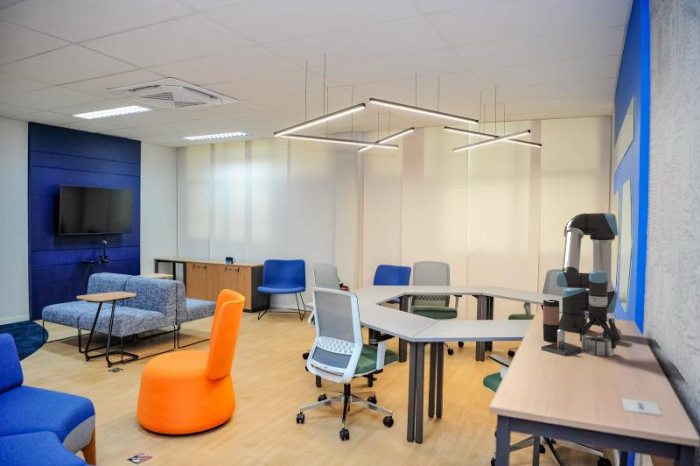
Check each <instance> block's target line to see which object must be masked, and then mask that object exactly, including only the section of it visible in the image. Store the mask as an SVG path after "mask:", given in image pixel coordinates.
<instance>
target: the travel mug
mask: <svg viewBox="0 0 700 466" xmlns="http://www.w3.org/2000/svg"><path fill="white" fill-rule="evenodd" d="M542 302H543V303H542V333H543V336H542V338H543V339H542V340H543V341H545V342H548V343H557V330H560V329H559V322H560V301H559V300H556V299H549V300H546V299H543V300H542Z"/></svg>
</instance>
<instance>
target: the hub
mask: <svg viewBox="0 0 700 466" xmlns="http://www.w3.org/2000/svg"><path fill="white" fill-rule="evenodd" d="M609 341H610V340H609V339H606V338H601V337H598V336H587V337H586V338H585V349H584V352H585V354H589V355H592V356H593V355H594V356H597V355H601V357H605V356H606V357H607V355H608V356H609Z"/></svg>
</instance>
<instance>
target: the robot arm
mask: <svg viewBox="0 0 700 466" xmlns="http://www.w3.org/2000/svg"><path fill="white" fill-rule="evenodd" d="M616 217H617V216H616V214H614V213H609V212H598V213H597V212H595V213H594V212H593V213H592V212H591V213H587V212H586V213H579V214H577V215H575V216H573V217H572V218H570V220H569V221H568V222H567V223H566V225H565V227H564V229H563V230H564V231H563V236H564V239H565V241H564V250H563V257H562V259H563V260H562V266H561V267H562V269H561V271H557V272H556V279H555V280H556V286H557V287H559V288H564V289H563V290H562V296H561V298H562V299H561V301H562V304H561V317H560V318H559V330H565V332H572V333H577V334H579V340H580V341H579V342H581V351H582V350H584V351H585V338H586V337H588V336H587V332H589V330H590V329H591V327H592V326H597V327H601V328H602V329H603V330H604V331H605V332H606V334H607V335H608V337H609V338H610V340H611V341H609V355H608V356H609V357H613V356H615V349H616V348H617V342H619V341H621V340H622V337H621V338H620V336H619V333H618V331H617V328H618V327H617V326H616V324H615V323H616V322H615V319H614V317H612V318H610V317H608V314H613V313H615V311H616V307H617V301H618V299H617V298H618V292H617V291H615V287H613V286H612V246H613V245H612V242H614V241H615V239H616V237H617V236H619V231H618V230H619V229H618V224H617V218H616ZM584 236H589V239H590V240H591V241H592V252H593V253H592V258H593V259H592V270H591V271H589V272H580V261H581V247H582V239H584ZM586 312H587V313H586ZM588 319H589V321H587V320H588ZM609 327H610V328H611V330H610V329H609ZM616 327H617V328H616ZM611 331H612V332H611ZM616 341H617V342H616Z"/></svg>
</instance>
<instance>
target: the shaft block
mask: <svg viewBox="0 0 700 466" xmlns="http://www.w3.org/2000/svg"><path fill="white" fill-rule="evenodd" d="M565 333H566V331H565V330H561V329H559V330H557V342H553V343H549V344H545V345H542V346H540V347H541V348H540V350H541V351H545V352H549V353H553V354H557V355H560V356H565V357H566V356H570V355H573V354H577V352H578V353H581V352H582V347H581V348H580V347H576V346H571V345H569V344H568V345H567V344H565Z"/></svg>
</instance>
